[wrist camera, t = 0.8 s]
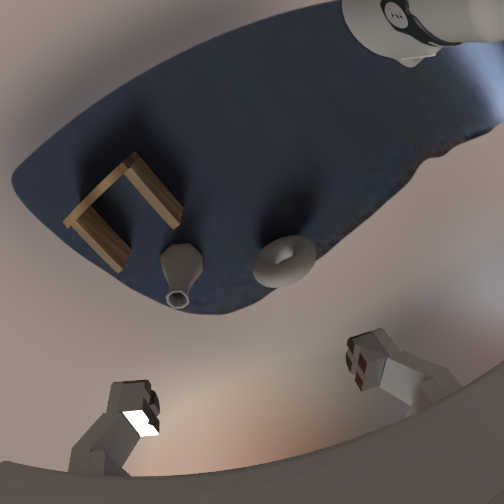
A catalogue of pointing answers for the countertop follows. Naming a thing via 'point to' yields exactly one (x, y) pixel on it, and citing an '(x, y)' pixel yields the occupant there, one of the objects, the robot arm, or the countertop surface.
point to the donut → (288, 270)
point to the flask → (181, 272)
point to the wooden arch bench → (101, 232)
